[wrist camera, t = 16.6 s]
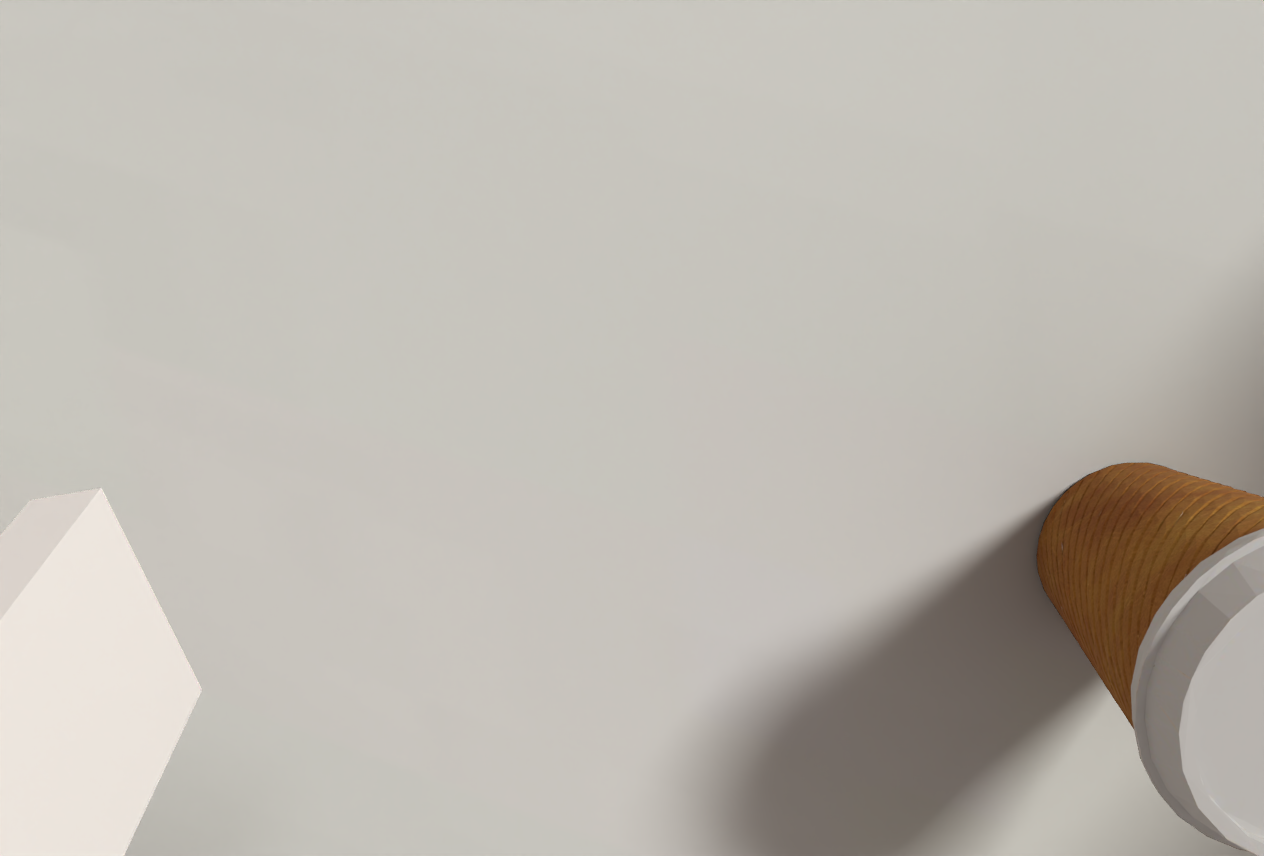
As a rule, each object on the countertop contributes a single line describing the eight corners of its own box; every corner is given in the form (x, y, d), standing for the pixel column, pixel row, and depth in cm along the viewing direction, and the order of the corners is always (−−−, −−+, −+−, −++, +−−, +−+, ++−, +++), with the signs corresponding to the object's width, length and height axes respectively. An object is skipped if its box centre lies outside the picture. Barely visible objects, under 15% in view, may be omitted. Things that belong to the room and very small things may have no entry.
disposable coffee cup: (991, 684, 40) (1154, 902, 28) (989, 429, 38) (1165, 553, 26) (1252, 659, 40) (1521, 867, 29) (1266, 403, 38) (1565, 515, 26)
